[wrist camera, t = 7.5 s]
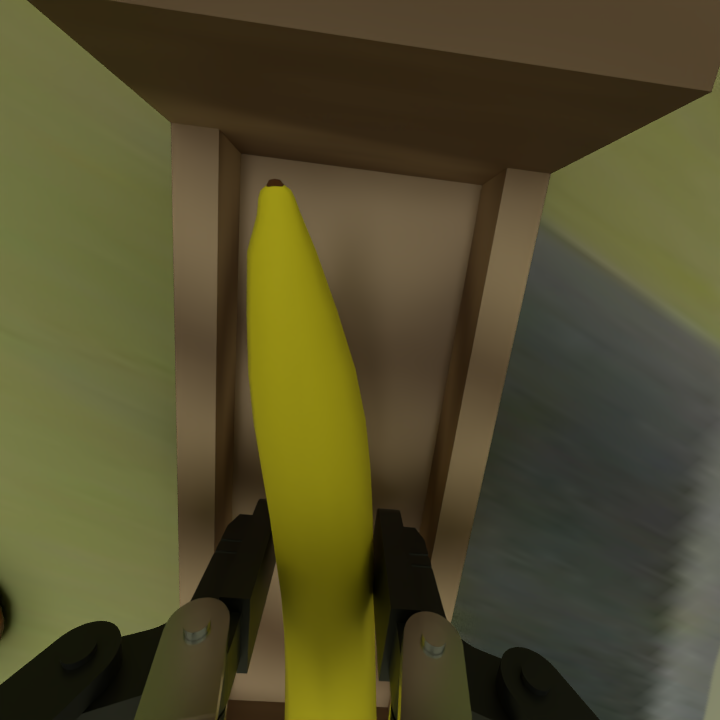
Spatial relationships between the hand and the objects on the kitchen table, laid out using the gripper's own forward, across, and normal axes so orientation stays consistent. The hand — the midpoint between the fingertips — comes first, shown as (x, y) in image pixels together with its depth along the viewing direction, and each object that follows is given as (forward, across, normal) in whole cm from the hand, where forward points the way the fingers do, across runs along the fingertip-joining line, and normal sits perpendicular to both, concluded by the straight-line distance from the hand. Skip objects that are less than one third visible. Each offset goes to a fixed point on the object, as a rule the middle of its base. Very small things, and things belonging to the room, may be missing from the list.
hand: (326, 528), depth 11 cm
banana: (+1, 0, 0) cm, 1 cm away
